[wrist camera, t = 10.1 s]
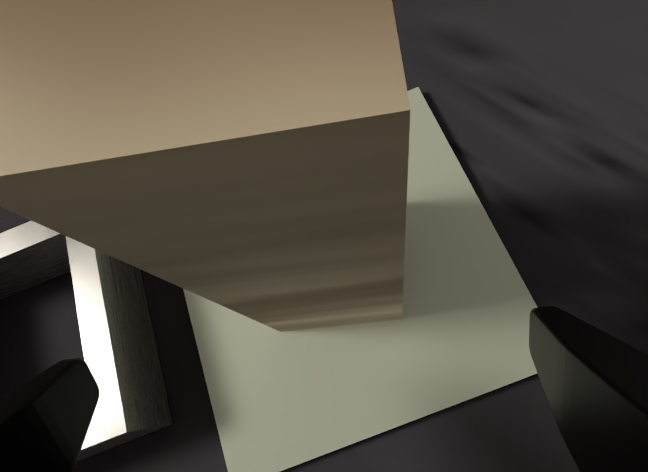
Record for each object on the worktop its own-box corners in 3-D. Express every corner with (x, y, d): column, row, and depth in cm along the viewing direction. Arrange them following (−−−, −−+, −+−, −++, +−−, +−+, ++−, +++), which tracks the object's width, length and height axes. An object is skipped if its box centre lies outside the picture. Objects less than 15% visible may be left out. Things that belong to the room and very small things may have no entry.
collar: (173, 424, 17) (126, 431, 14) (-34, 504, 17) (-121, 528, 14) (130, 225, 19) (85, 198, 17) (-45, 296, 20) (-118, 281, 17)
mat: (563, 362, 15) (566, 362, 15) (236, 486, 16) (232, 489, 15) (418, 92, 19) (418, 86, 19) (163, 195, 20) (159, 192, 19)
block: (401, 318, 16) (409, 110, 4) (280, 331, 17) (-50, 184, 4) (386, 204, 17) (355, -211, 5) (274, 219, 18) (17, -125, 6)
